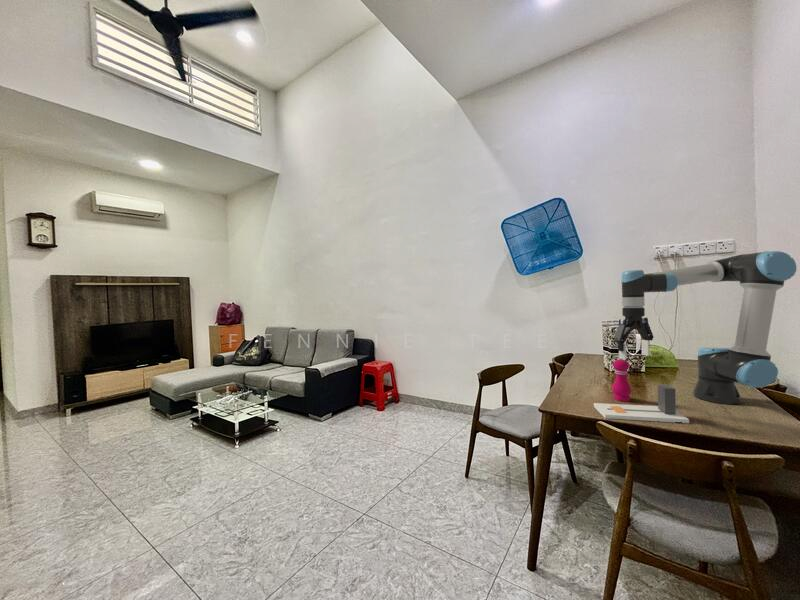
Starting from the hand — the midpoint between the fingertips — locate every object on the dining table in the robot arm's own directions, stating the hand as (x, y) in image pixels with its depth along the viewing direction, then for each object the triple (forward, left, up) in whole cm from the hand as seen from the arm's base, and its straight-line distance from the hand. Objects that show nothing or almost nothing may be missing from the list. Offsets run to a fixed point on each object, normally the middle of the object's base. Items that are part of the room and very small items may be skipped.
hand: (634, 357), depth 132 cm
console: (+1, +6, -22) cm, 23 cm away
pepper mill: (0, -12, -23) cm, 26 cm away
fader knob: (-9, +6, -21) cm, 23 cm away
